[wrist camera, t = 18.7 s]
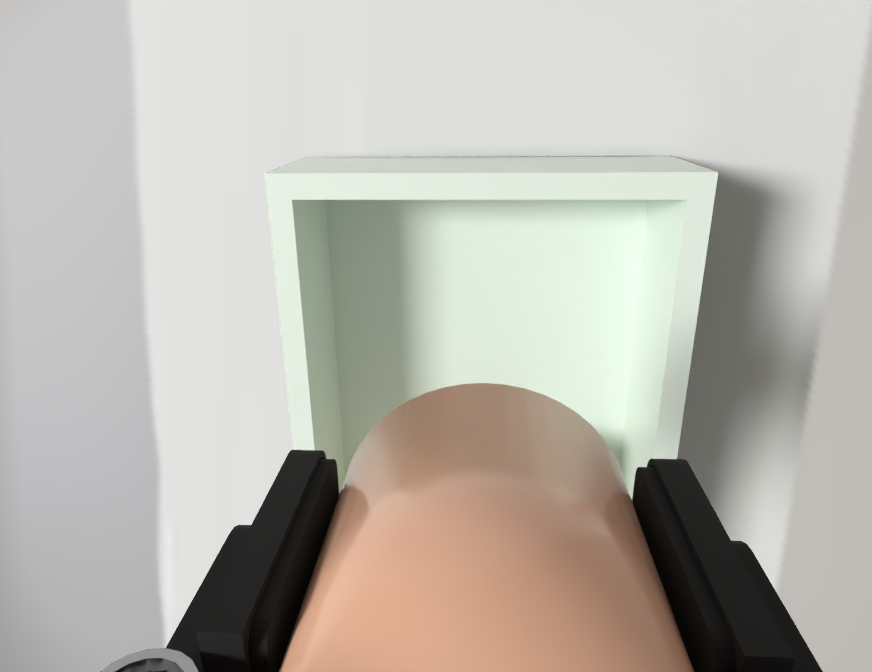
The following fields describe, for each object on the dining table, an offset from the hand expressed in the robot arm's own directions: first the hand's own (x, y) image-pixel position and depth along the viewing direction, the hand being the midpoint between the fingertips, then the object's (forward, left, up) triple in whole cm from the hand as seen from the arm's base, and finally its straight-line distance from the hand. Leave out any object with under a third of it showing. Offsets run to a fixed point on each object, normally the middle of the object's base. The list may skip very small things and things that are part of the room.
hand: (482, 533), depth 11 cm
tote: (-4, +2, -16) cm, 16 cm away
